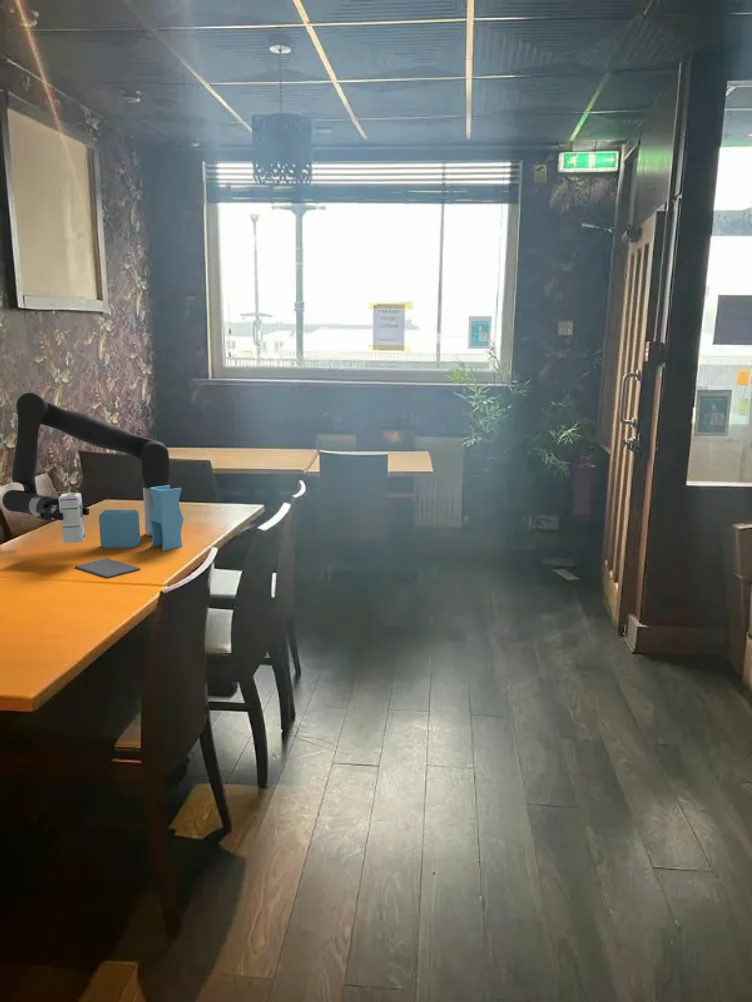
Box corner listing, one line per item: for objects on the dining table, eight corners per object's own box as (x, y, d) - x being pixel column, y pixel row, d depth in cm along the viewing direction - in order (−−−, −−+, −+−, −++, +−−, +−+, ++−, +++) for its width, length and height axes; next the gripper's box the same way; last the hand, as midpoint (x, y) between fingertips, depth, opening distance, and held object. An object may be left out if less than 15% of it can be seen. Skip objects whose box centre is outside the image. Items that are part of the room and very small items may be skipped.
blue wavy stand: (184, 546, 248) (182, 488, 244) (163, 550, 242) (160, 490, 238) (171, 542, 253) (169, 484, 249) (150, 546, 247) (148, 487, 243)
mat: (74, 567, 222) (74, 565, 221) (107, 560, 230) (107, 558, 230) (107, 578, 211) (107, 576, 211) (140, 569, 220) (140, 567, 220)
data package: (140, 544, 250) (138, 509, 248) (137, 547, 245) (135, 512, 243) (104, 544, 249) (101, 510, 246) (100, 548, 244) (98, 512, 242)
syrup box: (83, 542, 225) (79, 495, 222) (62, 543, 224) (58, 496, 221) (85, 537, 231) (81, 492, 228) (65, 538, 229) (61, 493, 226)
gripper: (23, 499, 228) (52, 506, 218) (66, 492, 239) (95, 498, 229) (26, 523, 229) (54, 530, 220) (68, 514, 240) (97, 521, 231)
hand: (75, 514), depth 224 cm, fingers closed on syrup box, 8 cm apart
